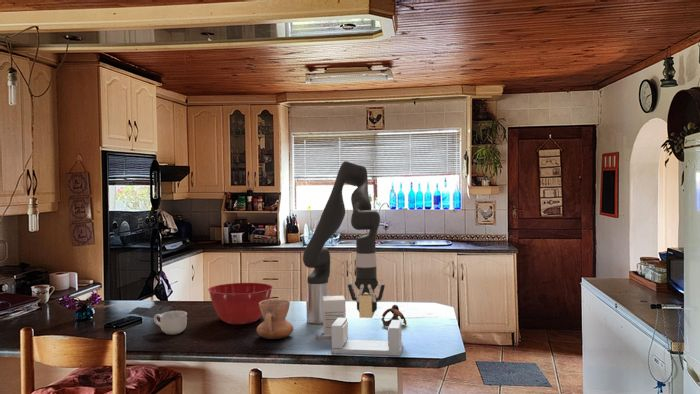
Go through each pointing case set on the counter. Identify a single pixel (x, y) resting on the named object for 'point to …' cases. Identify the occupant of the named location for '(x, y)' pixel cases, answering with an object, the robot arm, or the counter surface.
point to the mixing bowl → (239, 301)
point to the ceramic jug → (274, 319)
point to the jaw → (337, 333)
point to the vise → (376, 343)
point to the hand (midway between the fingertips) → (366, 311)
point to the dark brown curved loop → (395, 315)
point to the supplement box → (332, 312)
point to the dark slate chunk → (151, 311)
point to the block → (365, 305)
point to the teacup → (172, 321)
